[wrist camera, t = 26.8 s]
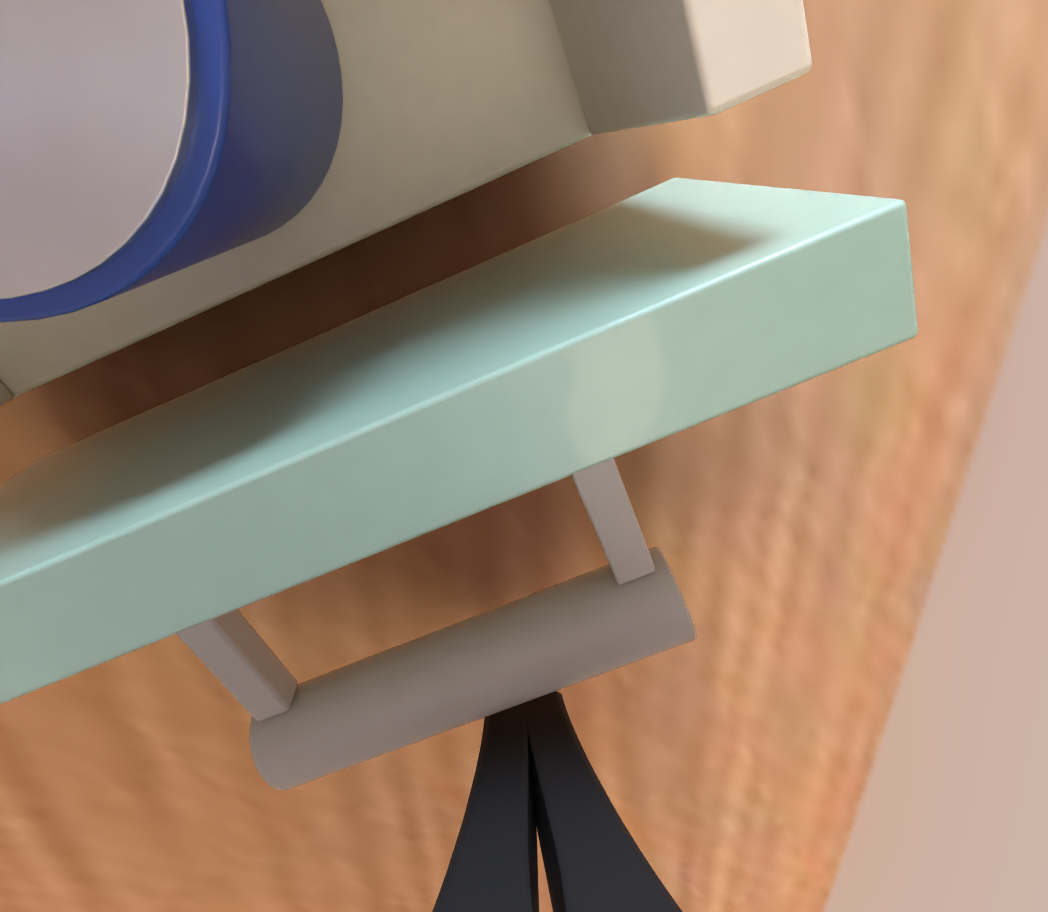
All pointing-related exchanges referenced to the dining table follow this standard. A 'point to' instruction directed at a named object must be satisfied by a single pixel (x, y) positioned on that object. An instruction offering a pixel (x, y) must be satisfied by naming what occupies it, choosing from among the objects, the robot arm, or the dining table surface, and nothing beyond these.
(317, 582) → the dining table surface
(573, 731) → the robot arm
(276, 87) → the can
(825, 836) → the dining table surface
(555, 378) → the drawer
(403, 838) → the dining table surface
